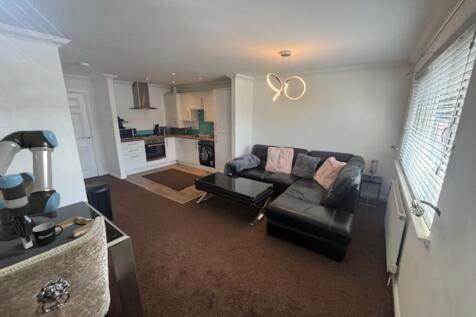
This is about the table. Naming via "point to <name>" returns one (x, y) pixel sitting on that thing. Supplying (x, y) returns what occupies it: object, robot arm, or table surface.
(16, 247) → the table surface
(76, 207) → the table surface
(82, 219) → the bay
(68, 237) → the table surface
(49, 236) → the mug
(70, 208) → the table surface
